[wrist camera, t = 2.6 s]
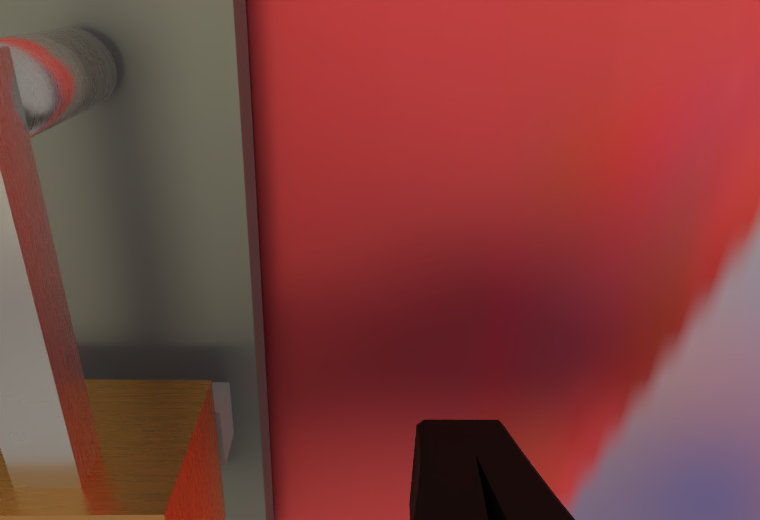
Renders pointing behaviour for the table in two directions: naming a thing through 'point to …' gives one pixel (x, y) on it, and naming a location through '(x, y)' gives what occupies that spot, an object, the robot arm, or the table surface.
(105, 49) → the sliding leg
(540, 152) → the table surface
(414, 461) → the robot arm
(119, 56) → the plate
